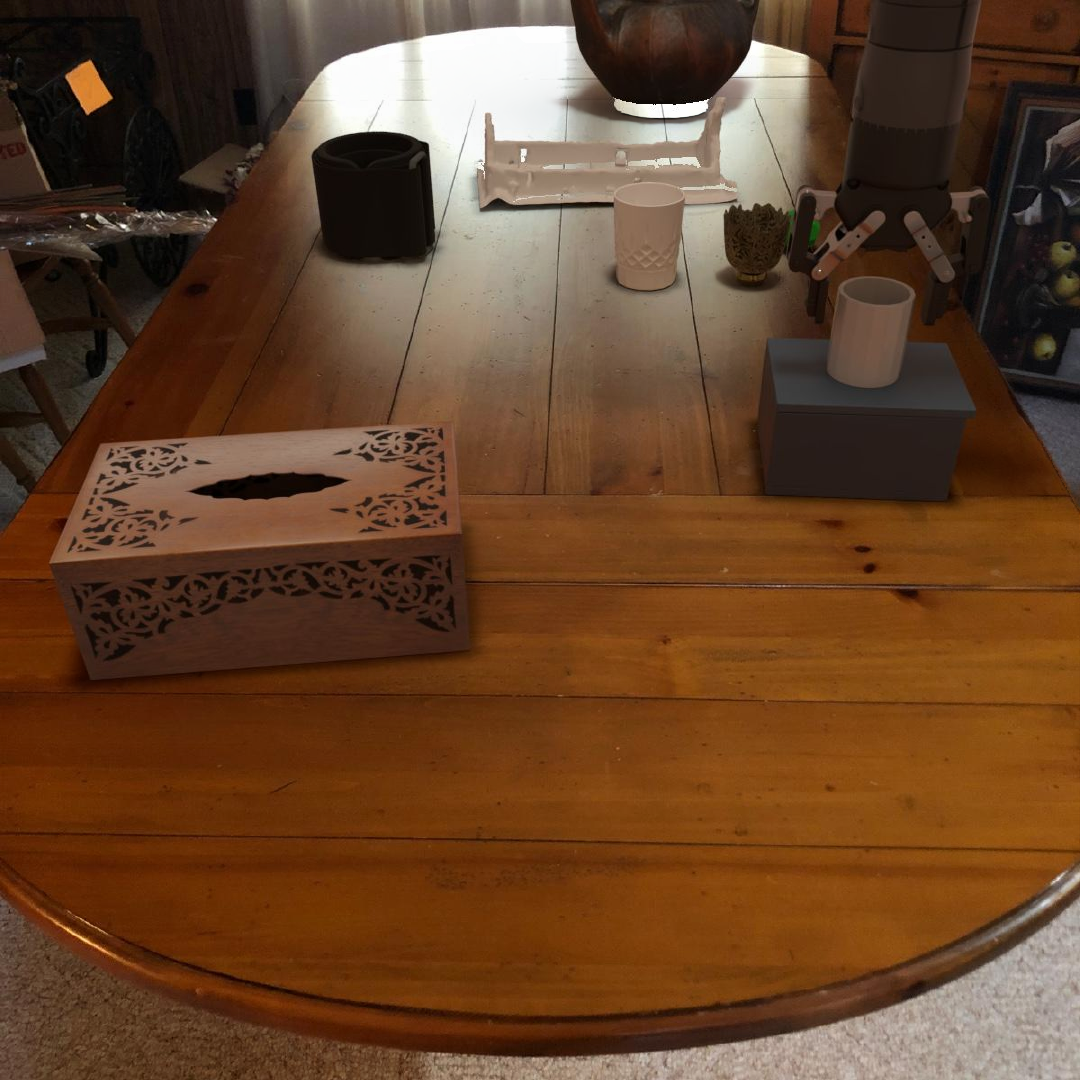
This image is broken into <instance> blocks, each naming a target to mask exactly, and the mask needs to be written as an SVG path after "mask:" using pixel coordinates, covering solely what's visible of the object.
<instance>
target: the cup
mask: <svg viewBox="0 0 1080 1080" xmlns="http://www.w3.org/2000/svg"><path fill="white" fill-rule="evenodd" d="M789 211H790V210H786V212H785V213H784V211H783V208H782V206H780V207H779V208H778V210H776V207H774V206H773V204H771V203H769V202H768V203H765V204H764V205H761V204H760V203H757V202H755V203H754V204H753V206H752V209H743V206H742V204H741V203H739V204H738V206H736V205H735V204H731V205H730V207H729V208H728V209H727V208H725V209H724V213H723V241H724V253H725V257H726V260H727V263H729V265H730V266H731V268H733V269H735V272H734V276H735V277H734V278H735V279H736V281H737V282H738V283H739V284H741V285H743V286H748V287H757V286H761V285H763V284H765V283H766V281H767V279H768V277H769V274H768V272H770V271H771V270H773V269H775V267H776V266H777V265H778V264H779V263H780V260H781V259H782V256H783V254H784V250H785V248H786V247H785V243H786V239H787V235H788V231H789V227H790V223H791V219H792V218H791V214H790V215H789Z"/></svg>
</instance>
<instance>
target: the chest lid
mask: <svg viewBox="0 0 1080 1080" xmlns="http://www.w3.org/2000/svg"><path fill="white" fill-rule="evenodd" d="M829 343H830V339H825V338H823V339H822V338H821V339H820V338H792V337H791V338H789V337H788V338H787V337H767V338H766V342H765V349H766V348H767V355H768V361H769V368H770V374H771V381H772V387H773V394H774V400H775V407H776V411H777V412H799V413H827V414H856V415H884V416H912V417H941V418H966V419H968V420H969V419H970V420H971V419H972V420H973V419H975V418H976V414H977V411H978V410H977V407H976V406H975V404H974V400H973V398H972V396H971V394H970V392H969V390H968V388H967V386H966V384H965V381H964V379H963V377H962V374H961V372H960V370H959V368H958V365H957V363H956V361H955V359H954V356H953V354H952V352H951V350H950V348H949V345H948V343H947V342H925V341H924V342H923V341H922V342H920V341H907V343H906V348H905V353H904V358H903V363H902V368H901V371H900V375H899V378H898V379H897V381H895V382H894V383H893V384H890V385H888V386H884V387H879V388H861V387H854V386H850V385H847V384H844V383H841V382H839V381H837V380H835V379H834V378H832V377H831V376H830V375H829V373H828V372H827V368H826V367H827V356H828V350H829Z"/></svg>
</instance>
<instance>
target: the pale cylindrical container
mask: <svg viewBox="0 0 1080 1080" xmlns="http://www.w3.org/2000/svg"><path fill="white" fill-rule="evenodd" d="M916 297H917V295H916V292H915V289H914V288H913V287H911V286H910V285H908V284H907V283H905V282H902V281H900V280H897V279H894V278H889V277H885V276H873V275H869V276H868V275H867V276H866V275H863V276H857V277H850V278H849V279H846V280H844V281H842V282H841V283H840V284H839V285H838V287H837V292H836V299H835V305H834V311H833V319H832V323H831V332H830V338H829V340H830V343H829V350H828V356H827V367H826V368H827V372H828V373H829V375H830V376H831V377H832V378H834V379H835V380H837V381H839V382H841V383H844V384H847V385H850V386H854V387H861V388H879V387H884V386H888V385H890V384H893V383H894V382H895V381H897V379H898V378H899V375H900V371H901V368H902V363H903V358H904V353H905V348H906V343H907V342H908V337H909V333H910V327H911V323H912V317H913V314H914V313H913V312H914V308H915V302H916Z"/></svg>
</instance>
